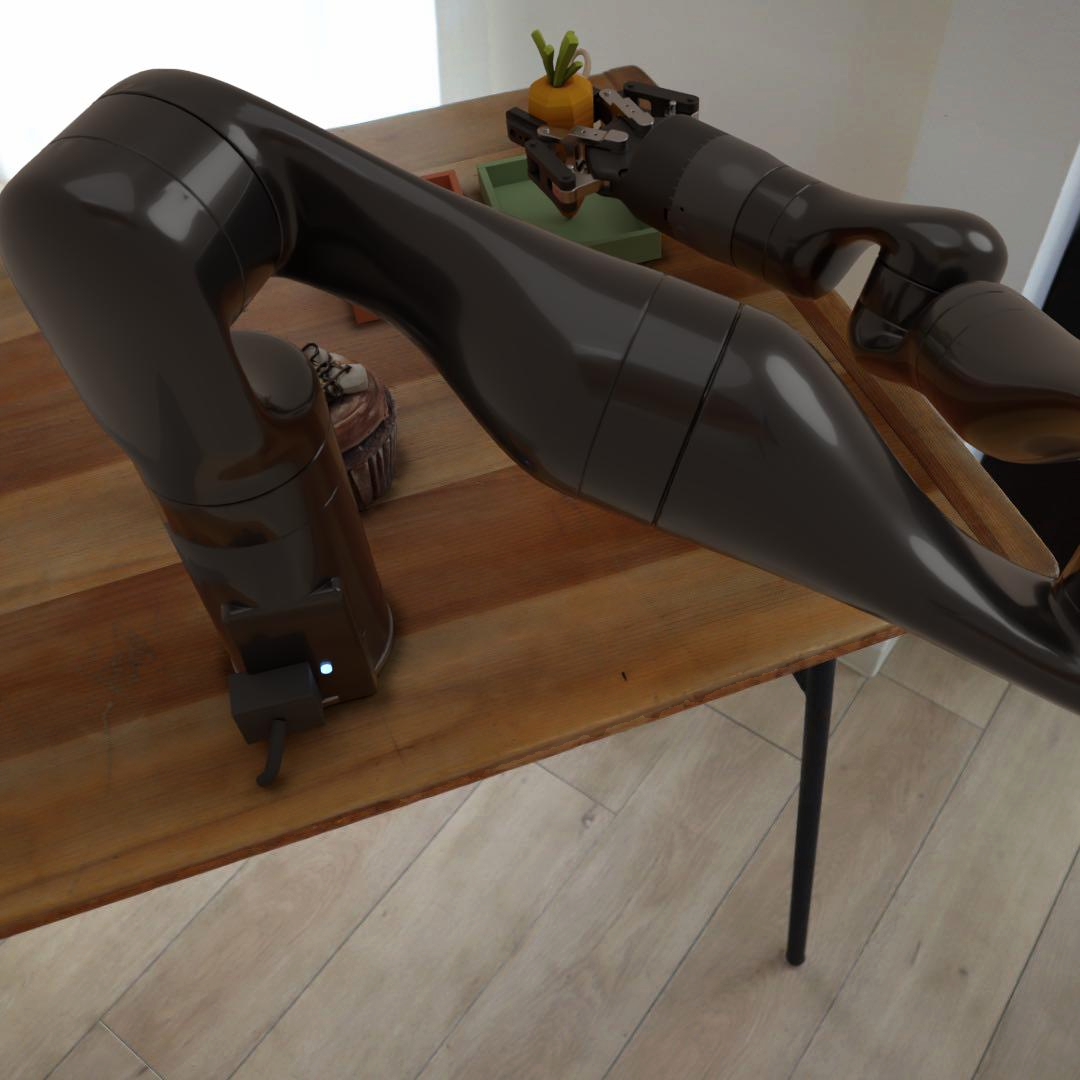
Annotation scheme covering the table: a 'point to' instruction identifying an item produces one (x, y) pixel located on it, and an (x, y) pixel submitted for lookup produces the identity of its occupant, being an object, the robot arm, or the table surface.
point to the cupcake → (359, 422)
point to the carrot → (561, 92)
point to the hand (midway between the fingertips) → (536, 105)
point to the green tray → (592, 226)
